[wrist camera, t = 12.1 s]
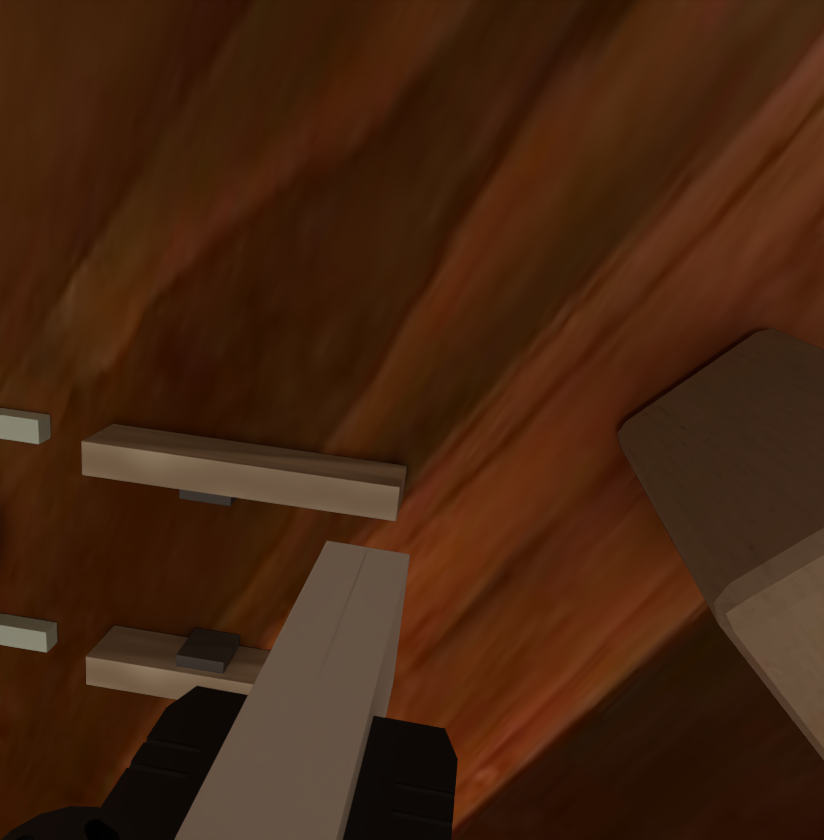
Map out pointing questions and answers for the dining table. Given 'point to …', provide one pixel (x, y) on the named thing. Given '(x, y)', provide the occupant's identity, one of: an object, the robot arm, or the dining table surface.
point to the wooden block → (749, 505)
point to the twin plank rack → (222, 484)
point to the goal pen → (8, 626)
